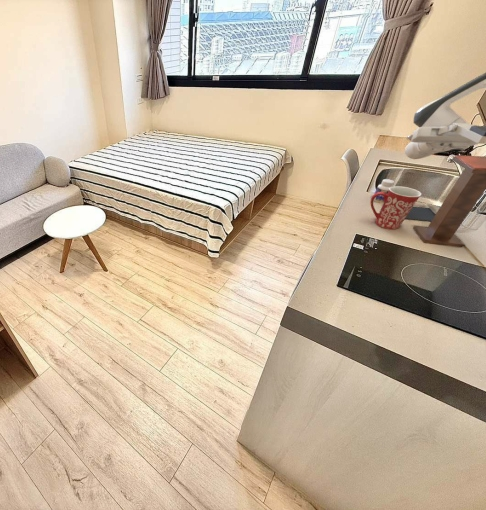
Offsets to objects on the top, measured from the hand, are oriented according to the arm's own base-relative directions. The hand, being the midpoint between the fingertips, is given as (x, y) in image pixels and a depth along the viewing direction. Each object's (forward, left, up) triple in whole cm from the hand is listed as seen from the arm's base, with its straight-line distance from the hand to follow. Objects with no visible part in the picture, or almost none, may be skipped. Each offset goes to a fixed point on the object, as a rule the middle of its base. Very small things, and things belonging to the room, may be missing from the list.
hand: (465, 127), depth 91 cm
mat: (0, 0, -32) cm, 32 cm away
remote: (0, +5, -1) cm, 5 cm away
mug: (+14, +12, -32) cm, 37 cm away
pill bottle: (+10, -10, -32) cm, 35 cm away
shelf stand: (0, +18, -32) cm, 37 cm away
